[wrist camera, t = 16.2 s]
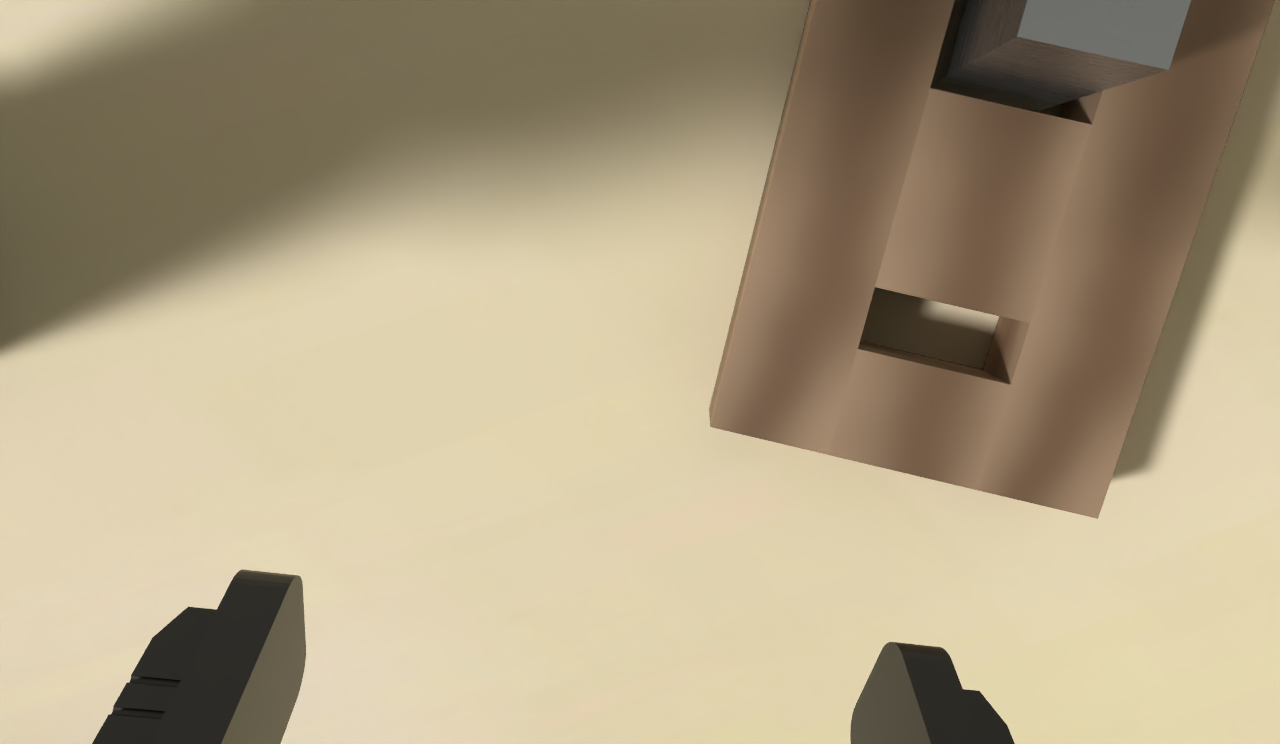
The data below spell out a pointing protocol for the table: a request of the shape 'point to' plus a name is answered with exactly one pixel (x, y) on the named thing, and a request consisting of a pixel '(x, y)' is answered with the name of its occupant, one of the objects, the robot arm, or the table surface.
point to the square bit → (1054, 47)
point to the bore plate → (973, 252)
